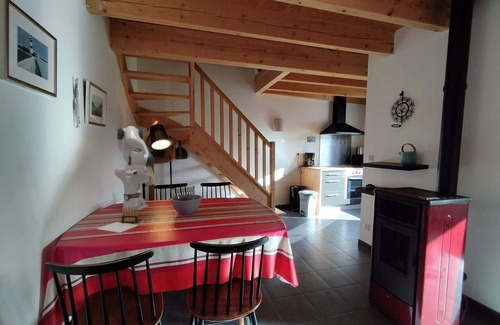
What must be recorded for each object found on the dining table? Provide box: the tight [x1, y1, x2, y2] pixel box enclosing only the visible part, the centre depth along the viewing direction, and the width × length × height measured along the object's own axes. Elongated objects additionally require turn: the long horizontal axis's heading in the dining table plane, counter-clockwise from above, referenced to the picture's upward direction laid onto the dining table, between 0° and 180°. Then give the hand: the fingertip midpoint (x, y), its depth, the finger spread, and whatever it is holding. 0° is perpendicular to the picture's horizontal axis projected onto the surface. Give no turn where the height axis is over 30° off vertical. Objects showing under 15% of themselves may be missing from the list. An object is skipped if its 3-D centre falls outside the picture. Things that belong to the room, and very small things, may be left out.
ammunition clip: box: [120, 205, 139, 224], centre depth 172 cm, size 11×2×12 cm, turn 104°
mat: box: [96, 221, 140, 234], centre depth 162 cm, size 16×20×1 cm
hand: (138, 190), depth 178 cm, fingers closed
